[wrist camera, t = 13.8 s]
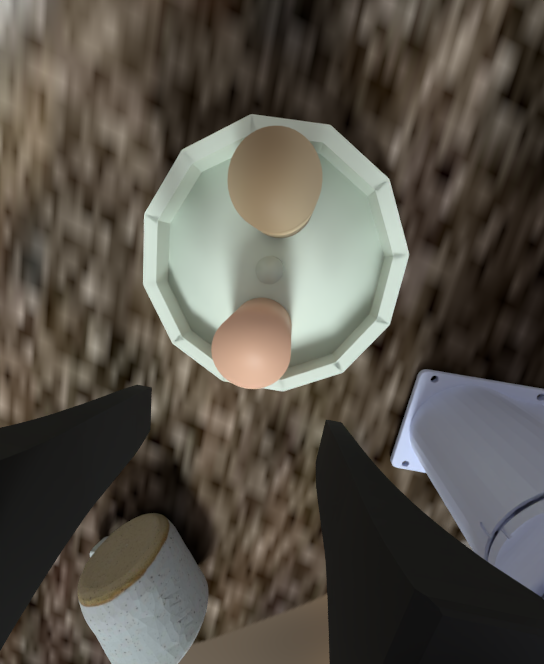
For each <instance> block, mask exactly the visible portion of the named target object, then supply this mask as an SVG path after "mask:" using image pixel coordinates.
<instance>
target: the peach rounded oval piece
mask: <svg viewBox="0 0 544 664" xmlns="http://www.w3.org/2000/svg"><path fill="white" fill-rule="evenodd" d="M291 334H292V324H291V319H290V316H289V314H288V312H287V311H286V309H285V308H284V307H283V306H282V305H281V304H279V303H278V302H276V301H274V300H272V299H269V298H254V299H251V300H249V301H247V302H245V303H244V304H242V305H241V306H240V307H239V308H238V309H237V310H236V311H235V312H234V313H233V314H232V315H231V316H230V317H229V318H228V319H227V320H226V321H225V322H224V323H223V324H222V325H221V326H220V327H219V328H218V330H217V331H216V333H215V335H214V337H213V340H212V346H211V352H212V358H213V361H214V364H215V366H216V368H217V370H218V371H219V372H220V374H221V375H222V376H223V377H224V378H225V379H226V380H228V381H229V382H231V383H232V384H234V385H236V386H239V387H242V388H248V389H258V388H263V387H267V386H269V385H271V384H273V383H275V382H276V381H278V380H279V379H280V378H281V377H282V376H283V374H284V373H285V371H286V370H287V368H288V365H289V362H290V357H291Z"/></svg>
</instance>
